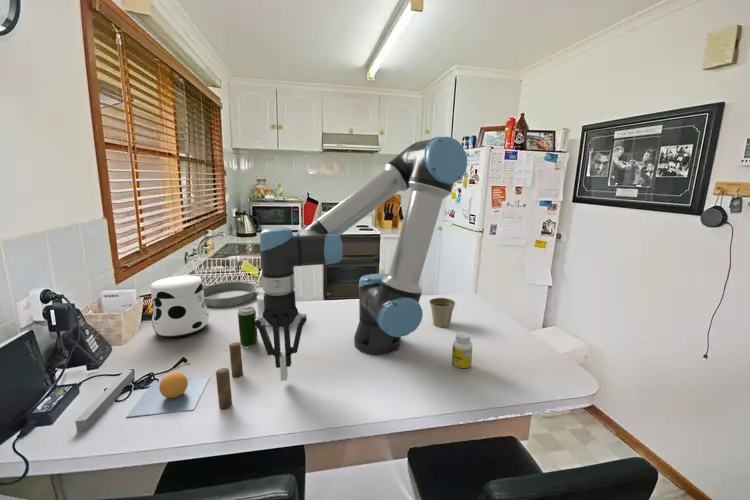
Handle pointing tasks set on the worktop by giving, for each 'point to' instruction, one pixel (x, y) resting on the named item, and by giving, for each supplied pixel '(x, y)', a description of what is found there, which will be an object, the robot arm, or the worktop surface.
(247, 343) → the beer can
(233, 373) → the post
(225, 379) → the post
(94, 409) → the wall
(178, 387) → the ball
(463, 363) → the supplement bottle
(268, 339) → the robot arm
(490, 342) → the worktop surface
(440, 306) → the flower pot
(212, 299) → the cake pan
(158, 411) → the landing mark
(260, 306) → the toilet tissue
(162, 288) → the milk container
